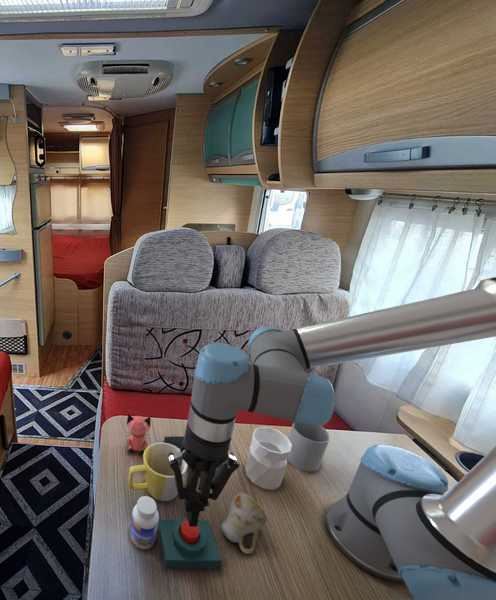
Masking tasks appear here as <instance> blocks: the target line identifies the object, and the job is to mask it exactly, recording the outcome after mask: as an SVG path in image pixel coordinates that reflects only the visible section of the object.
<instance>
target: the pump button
mask: <svg viewBox="0 0 496 600" xmlns="http://www.w3.org/2000/svg"><path fill="white" fill-rule="evenodd" d="M180 534H181V537H182V539H183V540H184V541H185V542H187V543H190V544H194V543H196V542H197V540H198V537H199V528H198V526H197V527H189V523H188V520H186V521H184V522H183V523H182V525H181V530H180Z"/></svg>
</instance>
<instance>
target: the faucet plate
mask: <svg viewBox="0 0 496 600" xmlns="http://www.w3.org/2000/svg"><path fill="white" fill-rule="evenodd" d="M183 438H184V435H183V436H181V435H180V436H178V435H177V436H164V438H163V443H168V444H171V445H174V446H176V447H177V448H179V449H181V447H182V445H183Z"/></svg>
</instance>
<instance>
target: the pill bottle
mask: <svg viewBox="0 0 496 600" xmlns="http://www.w3.org/2000/svg"><path fill="white" fill-rule="evenodd" d="M157 508H158V507H157V503H156V501H155V499H154V498H153V497H150V496H148V495H143V496H141V497H139V498H138V499H137V502H136V504H135V505H134V507H133V509H132V514H131V522H130V523H131V524H130V539H131V541H132V542H133V544H134V545H135V546H136V547H138V548H139V549H142V550H145V549H150V548H152V547H153V545H154V544H155V542H156V539H157V532H158V520H160V518H159V517H160V516H159V512H158V510H157Z"/></svg>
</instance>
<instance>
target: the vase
mask: <svg viewBox="0 0 496 600" xmlns="http://www.w3.org/2000/svg"><path fill="white" fill-rule="evenodd" d="M288 438H289V436H286V434H284V433H283V432H281V431H280V430H278V429H275V428H271V427H269V426H258V427H257V428H255V429H254V430H253V431H252V438H251V440H250V441H251V442H250V443H251V444H250V445H249V447H248V454H247V459H246V462H245V464H244V470H245V476H246V477H247V478H248V480H250V482H252V483H253V484H254V485H255V486H257V487H259V488H261V489H263V490H271V491H274V490H277V489H278V488H279V487H281V485H282V482H283V478H284V476H285V471H286V467H287V465H288V460H287V458H288V457H289V456H290V452H291V447H292V444H291V442H290V441H289V439H288Z"/></svg>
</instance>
